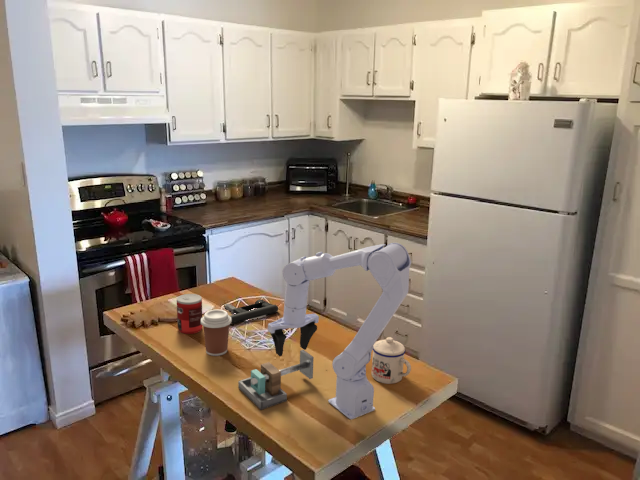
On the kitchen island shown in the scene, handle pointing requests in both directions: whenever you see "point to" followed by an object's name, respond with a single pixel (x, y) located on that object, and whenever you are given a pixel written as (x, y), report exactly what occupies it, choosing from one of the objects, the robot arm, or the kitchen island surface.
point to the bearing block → (271, 378)
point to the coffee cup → (216, 331)
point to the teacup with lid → (389, 361)
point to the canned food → (189, 313)
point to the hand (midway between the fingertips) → (291, 351)
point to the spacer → (261, 382)
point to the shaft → (296, 367)
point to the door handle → (251, 311)
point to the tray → (263, 399)
